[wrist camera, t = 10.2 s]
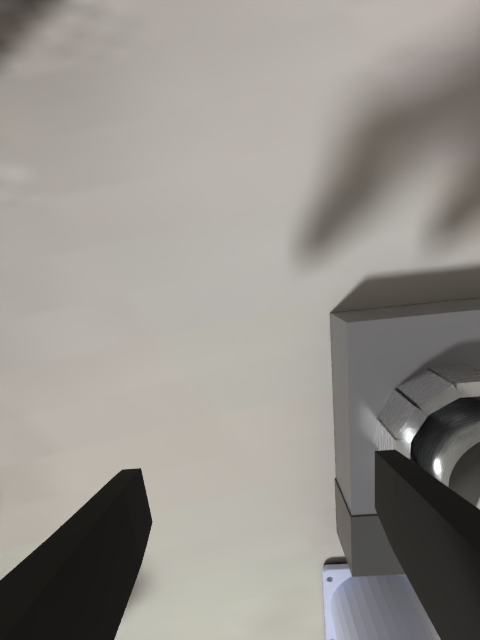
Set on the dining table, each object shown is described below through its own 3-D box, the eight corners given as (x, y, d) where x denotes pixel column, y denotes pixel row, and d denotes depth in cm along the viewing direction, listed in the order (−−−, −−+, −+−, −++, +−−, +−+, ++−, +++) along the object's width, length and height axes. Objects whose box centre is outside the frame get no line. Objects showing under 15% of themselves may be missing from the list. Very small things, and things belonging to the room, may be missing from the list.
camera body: (480, 522, 20) (554, 604, 16) (336, 531, 21) (364, 612, 16) (503, 295, 17) (609, 308, 12) (328, 313, 17) (360, 331, 12)
